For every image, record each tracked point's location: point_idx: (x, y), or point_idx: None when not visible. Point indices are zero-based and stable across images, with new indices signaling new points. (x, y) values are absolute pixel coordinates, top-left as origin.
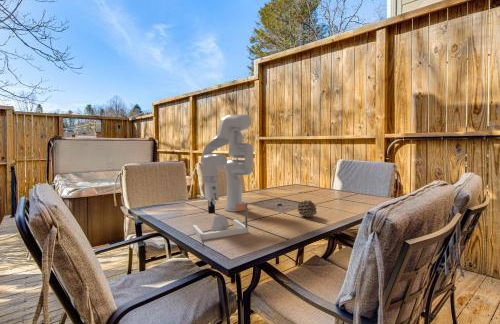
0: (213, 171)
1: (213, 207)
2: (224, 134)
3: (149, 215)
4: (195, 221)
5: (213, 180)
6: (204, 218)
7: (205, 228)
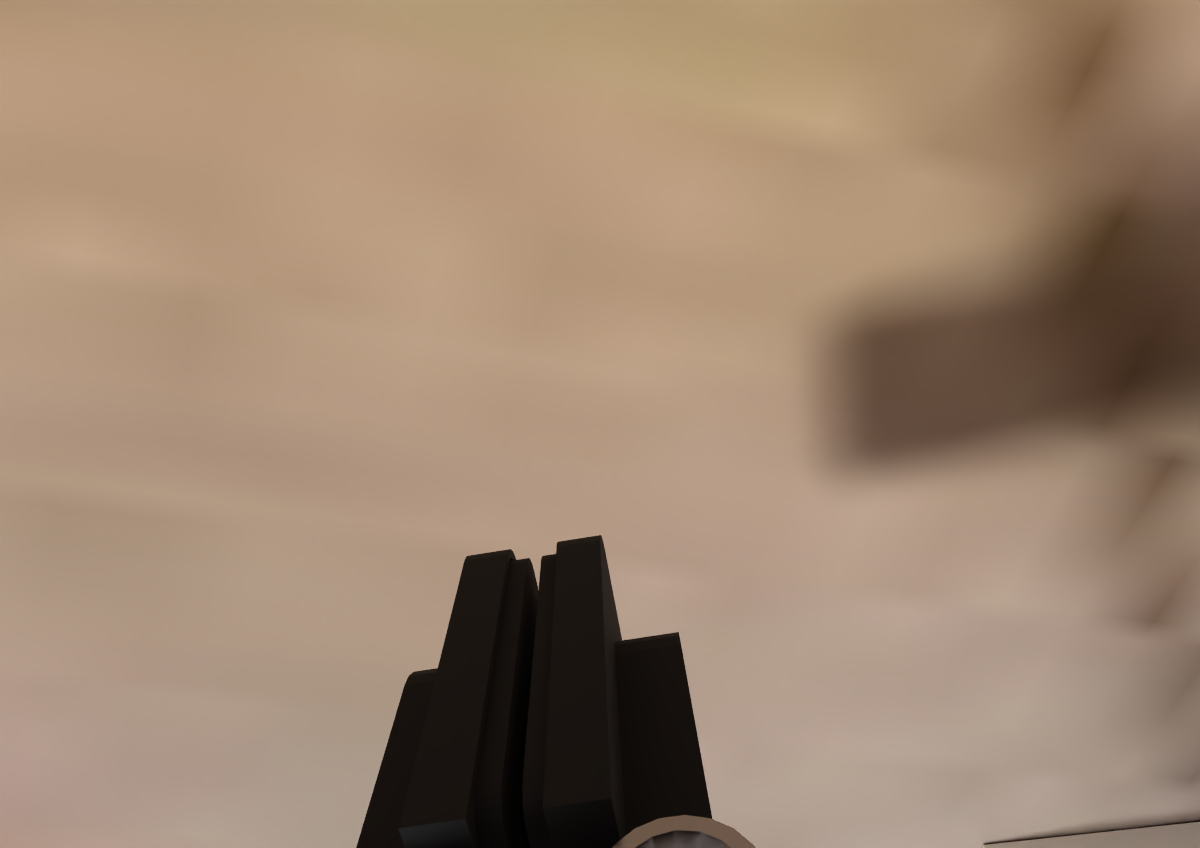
0: None
1: (706, 803)
2: None
3: None
4: (322, 793)
5: None
6: (67, 582)
7: (978, 664)
